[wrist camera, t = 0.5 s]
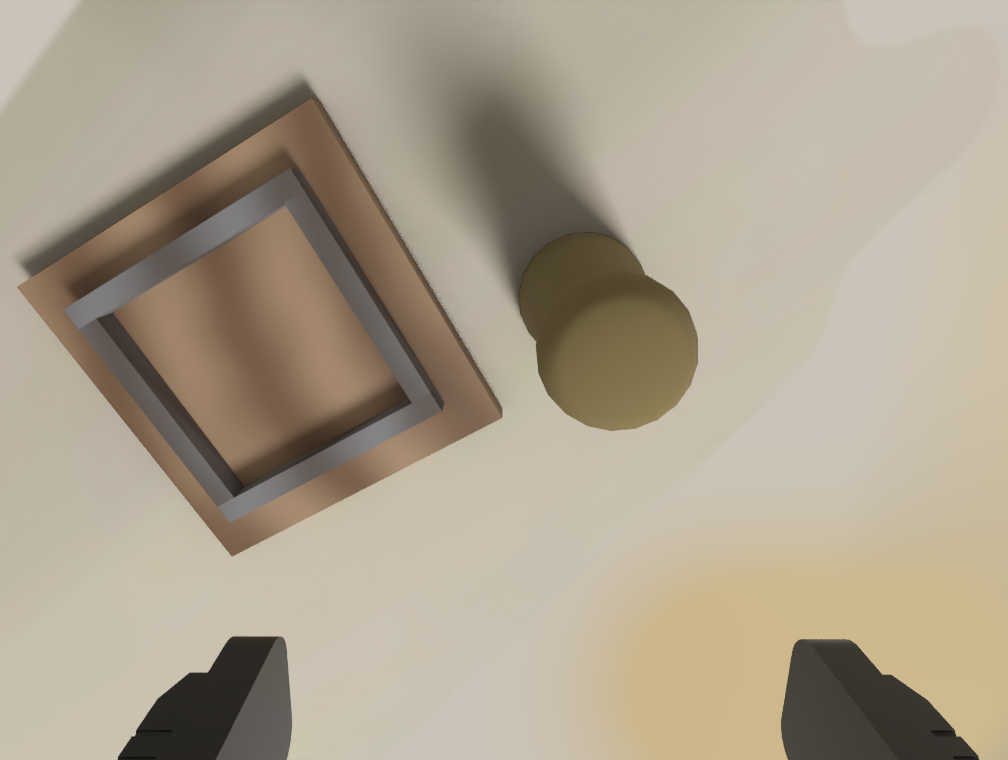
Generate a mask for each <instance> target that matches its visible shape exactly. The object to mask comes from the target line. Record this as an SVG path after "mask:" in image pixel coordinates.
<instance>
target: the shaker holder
mask: <svg viewBox="0 0 1008 760" xmlns="http://www.w3.org/2000/svg"><path fill="white" fill-rule="evenodd" d="M17 288H18V289H19V290H20V291H21V293H22V294H23V295H24V296H25V298H26V299H27V300H28V301H29V303H30V304H31V305H32V306H33V308H34V309H35V310H36V311H37V313H38V314H39V315H40V316H41V318H42V319H43V320H44V321H45V323H46V324H47V325H48V326H49V328H50V329H51V330H52V331H53V333H54V334H55V335H56V336H57V338H58V339H59V340H60V342H61V343H62V344H63V345H64V347H65V348H66V349H67V350H68V352H69V353H70V354H71V355H72V357H73V358H74V359H75V360H76V362H77V363H78V364H79V365H80V367H81V368H82V369H83V370H84V372H85V373H86V374H87V375H88V377H89V378H90V379H91V380H92V382H93V383H94V384H95V385H96V387H97V388H98V389H99V390H100V392H101V393H102V394H103V395H104V397H105V398H106V399H107V400H108V402H109V403H110V404H111V405H112V407H113V408H114V409H115V410H116V412H117V413H118V414H119V415H120V417H121V418H122V419H123V421H124V422H125V423H126V424H127V426H128V427H129V428H130V429H131V431H132V432H133V433H134V434H135V436H136V437H137V438H138V439H139V441H140V442H141V443H142V444H143V446H144V447H145V448H146V449H147V451H148V452H149V453H150V454H151V456H152V457H153V458H154V459H155V461H156V462H157V463H158V464H159V466H160V467H161V468H162V469H163V471H164V472H165V473H166V474H167V476H168V477H169V478H170V479H171V481H172V482H173V483H174V484H175V486H176V487H177V488H178V489H179V491H180V492H181V493H182V494H183V496H184V497H185V498H186V500H187V501H188V502H189V503H190V505H191V506H192V507H193V508H194V510H195V511H196V512H197V513H198V515H199V516H200V517H201V518H202V520H203V521H204V522H205V523H206V525H207V526H208V527H209V528H210V530H211V531H212V532H213V533H214V535H215V536H216V537H217V538H218V540H219V541H220V542H221V543H222V545H223V546H224V547H225V548H226V550H227V551H228V552H229V553H230V555H231V556H234V555H236V554H238V553H240V552H242V551H244V550H246V549H248V548H250V547H251V546H253V545H255V544H257V543H259V542H261V541H263V540H265V539H267V538H269V537H271V536H273V535H275V534H277V533H279V532H281V531H283V530H285V529H287V528H288V527H290V526H292V525H294V524H296V523H298V522H300V521H302V520H304V519H306V518H308V517H310V516H312V515H314V514H316V513H318V512H320V511H322V510H324V509H325V508H327V507H329V506H331V505H333V504H335V503H337V502H339V501H341V500H343V499H345V498H347V497H349V496H351V495H353V494H355V493H357V492H359V491H360V490H362V489H364V488H366V487H368V486H370V485H372V484H374V483H376V482H378V481H380V480H382V479H384V478H386V477H388V476H390V475H392V474H394V473H396V472H397V471H399V470H401V469H403V468H405V467H407V466H409V465H411V464H413V463H415V462H417V461H419V460H421V459H423V458H425V457H427V456H429V455H431V454H433V453H434V452H436V451H438V450H440V449H442V448H444V447H446V446H448V445H450V444H452V443H454V442H456V441H458V440H460V439H462V438H464V437H466V436H468V435H470V434H471V433H473V432H475V431H477V430H479V429H481V428H483V427H485V426H487V425H489V424H491V423H493V422H495V421H497V420H499V419H501V418H502V407H501V406H500V404H499V402H498V401H497V399H496V397H495V396H494V394H493V392H492V390H491V389H490V387H489V385H488V384H487V382H486V380H485V379H484V377H483V375H482V374H481V372H480V370H479V369H478V367H477V365H476V363H475V362H474V360H473V358H472V357H471V355H470V353H469V352H468V350H467V348H466V347H465V345H464V343H463V342H462V340H461V338H460V336H459V335H458V333H457V331H456V330H455V328H454V326H453V325H452V323H451V321H450V320H449V318H448V316H447V315H446V313H445V311H444V309H443V308H442V306H441V304H440V303H439V301H438V299H437V298H436V296H435V294H434V293H433V291H432V289H431V288H430V286H429V284H428V282H427V281H426V279H425V277H424V276H423V274H422V272H421V271H420V269H419V267H418V266H417V264H416V262H415V261H414V259H413V257H412V255H411V254H410V252H409V250H408V249H407V247H406V245H405V244H404V242H403V240H402V239H401V237H400V235H399V233H398V232H397V230H396V228H395V227H394V225H393V223H392V222H391V220H390V218H389V217H388V215H387V213H386V212H385V210H384V208H383V206H382V205H381V203H380V201H379V200H378V198H377V196H376V195H375V193H374V191H373V190H372V188H371V186H370V185H369V183H368V181H367V179H366V178H365V176H364V174H363V173H362V171H361V169H360V168H359V166H358V164H357V163H356V161H355V159H354V158H353V156H352V154H351V152H350V151H349V149H348V147H347V146H346V144H345V142H344V141H343V139H342V137H341V136H340V134H339V132H338V131H337V129H336V127H335V125H334V124H333V122H332V120H331V119H330V117H329V115H328V114H327V112H326V110H325V109H324V107H323V105H322V104H321V102H320V101H318V100H316V99H313V98H311V99H309V100H308V101H306V102H305V103H303V104H301V105H300V106H298V107H297V108H295V109H294V110H292V111H291V112H289V113H287V114H286V115H284V116H283V117H281V118H280V119H278V120H277V121H275V122H273V123H272V124H270V125H269V126H267V127H266V128H264V129H263V130H261V131H259V132H258V133H256V134H255V135H253V136H252V137H250V138H248V139H247V140H245V141H244V142H242V143H241V144H239V145H238V146H236V147H234V148H233V149H231V150H230V151H228V152H227V153H225V154H224V155H222V156H220V157H219V158H217V159H216V160H214V161H213V162H211V163H209V164H208V165H206V166H205V167H203V168H202V169H200V170H199V171H197V172H195V173H194V174H192V175H191V176H189V177H188V178H186V179H185V180H183V181H181V182H180V183H178V184H177V185H175V186H174V187H172V188H171V189H169V190H167V191H166V192H164V193H163V194H161V195H160V196H158V197H156V198H155V199H153V200H152V201H150V202H149V203H147V204H146V205H144V206H142V207H141V208H139V209H138V210H136V211H135V212H133V213H132V214H130V215H128V216H127V217H125V218H124V219H122V220H121V221H119V222H118V223H116V224H114V225H113V226H111V227H110V228H108V229H107V230H105V231H103V232H102V233H100V234H99V235H97V236H96V237H94V238H93V239H91V240H89V241H88V242H86V243H85V244H83V245H82V246H80V247H79V248H77V249H75V250H74V251H72V252H71V253H69V254H68V255H66V256H64V257H63V258H61V259H60V260H58V261H57V262H55V263H54V264H52V265H50V266H49V267H47V268H46V269H44V270H43V271H41V272H40V273H38V274H36V275H35V276H33V277H32V278H30V279H29V280H27V281H26V282H24V283H22V284H21V285H19V286H18V287H17Z"/></svg>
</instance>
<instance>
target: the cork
mask: <svg viewBox="0 0 1008 760" xmlns="http://www.w3.org/2000/svg"><path fill="white" fill-rule="evenodd" d="M519 301H520V312H521V316H522V318H523V321H524V323H525V325H526V327H527V330H528V332H529V333H530V335H531V336H532V337H533V338H534V339H535V341H536V351H537V362H538V373H539V375H540V378H541V380H542V382H543V384H544V387H545V389H546V391H547V393H548V395H549V396H550V397H551V398H552V399H553V400H554V402H555V403H556V404H557V405H558V406H559V407H560V408H561V409H562V410H563V411H564V412H565V413H566V414H567V415H569V416H571V417H573V418H574V419H576V420H578V421H580V422H582V423H583V424H585V425H587V426H590V427H595V428H600V429H605V430H610V431H615V430H626V429H635V428H638V427H640V426H643V425H645V424H648V423H650V422H653V421H656V420H658V419H659V418H660V417H662V416H663V415H664V414H665V413H667V412H668V411H669V410H671V409H672V408H673V407H674V406H676V405H677V403H678V402H679V401H680V399H681V398H682V396H683V395H684V394H685V392H686V391H687V389H688V388H689V387H690V385H691V382H692V379H693V376H694V373H695V370H696V367H697V364H698V338H697V333H696V330H695V327H694V324H693V321H692V319H691V316H690V313H689V310H688V309H687V308H686V307H685V306H684V304H683V303H682V302H681V301H680V299H679V298H678V297H677V296H676V295H675V293H674V292H673V291H671V290H670V289H668V288H667V287H665V286H663V285H662V284H660V283H658V282H657V281H655V280H653V279H652V278H650V277H648V276H646V275H645V273H644V271H643V269H642V266H641V264H640V262H639V261H638V260H637V258H636V257H635V256H634V255H633V254H632V252H631V251H630V250H629V249H628V248H627V247H626V246H624V245H623V244H621V243H619V242H618V241H616V240H615V239H613V238H611V237H609V236H605V235H600V234H596V233H591V232H586V233H576V234H568V235H566V236H564V237H562V238H559V239H557V240H555V241H553V242H550V243H549V244H548V245H547V246H545V247H544V248H543V249H542V250H541V251H540V252H539V253H538V254H537V255H535V256H534V257H533V259H532V261H531V263H530V264H529V266H528V268H527V269H526V271H525V273H524V274H523V278H522V283H521V287H520V292H519Z"/></svg>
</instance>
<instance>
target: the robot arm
mask: <svg viewBox="0 0 1008 760" xmlns="http://www.w3.org/2000/svg"><path fill="white" fill-rule="evenodd" d="M291 731H292V713H291V700H290V687H289V674H288V662H287V649H286V643H285V640H284V638H283V637H231V638H230V639H229V640H228V641H227V643H226V644H225V646H224V647H223V649H222V651H221V652H220V654H219V656H218V657H217V659H216V660H215V662H214V664H213V665H212V667H211V669H210V670H209V672H208V673H189V674H188V675H186V676H185V677H184V678H183V679H181V680H180V681H179V682H178V683H177V684H175V685H174V686H173V687H172V688H170V689H169V690H168V691H167V692H166V693H164V694H163V695H162V696H161V697H159V698H158V699H157V701H156V702H155V704H154V705H153V707H152V708H151V709H150V711H149V712H148V714H147V715H146V717H145V718H144V720H143V721H142V723H141V724H140V726H139V727H138V729H137V730H136V735H135V736H132V737H131V739H130V740H129V742H128V743H127V745H126V746H125V748H124V749H123V750H122V752H121V753H120V755H119V756H118V760H287V756H288V751H289V746H290V740H291ZM781 731H782V738H783V744H784V748H785V752H786V755H787V758H788V760H979V758H978V755H977V754H976V753H975V752H974V751H973V750H972V749H971V748H970V747H969V745H968V744H967V743H966V742H965V741H964V740H963V739H962V738H961V737H957V736H956V734H955V730H954V729H953V728H952V727H951V726H950V724H949V723H948V722H947V721H946V720H945V719H944V718H943V717H942V716H941V715H940V713H939V712H937V710H936V709H935V708H934V707H933V706H932V705H931V704H930V702H929V701H928V700H926V699H925V698H924V697H922V696H921V695H919V694H918V693H916V692H915V691H913V690H912V689H911V688H909V687H908V686H906V685H905V684H904V683H902V682H901V681H899V680H898V679H896V678H895V677H894V676H892V675H882V674H881V673H880V671H879V670H878V669H877V668H876V667H875V666H874V664H873V663H872V662H871V661H870V660H869V659H868V658H867V656H866V655H865V654H864V653H863V652H862V651H861V649H860V648H859V647H858V646H857V645H856V644H855V643H853V642H852V641H850V640H846V639H842V640H840V639H839V640H838V639H819V640H818V639H801V640H798V641H797V642H796V643H795V645H794V647H793V651H792V657H791V663H790V669H789V675H788V681H787V688H786V694H785V700H784V706H783V712H782V719H781Z"/></svg>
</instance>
